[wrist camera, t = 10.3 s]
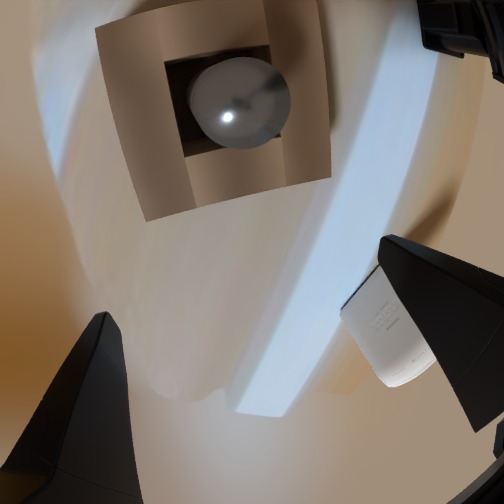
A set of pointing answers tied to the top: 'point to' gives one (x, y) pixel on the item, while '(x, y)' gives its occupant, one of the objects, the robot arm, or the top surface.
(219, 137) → the grey metal cylinder
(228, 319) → the top surface
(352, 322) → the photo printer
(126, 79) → the socket block
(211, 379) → the top surface
